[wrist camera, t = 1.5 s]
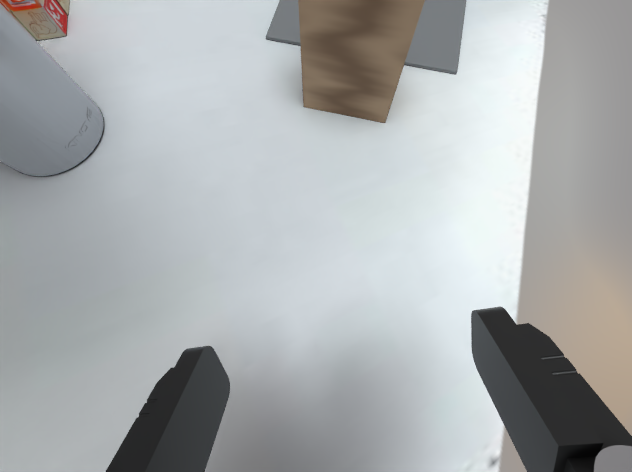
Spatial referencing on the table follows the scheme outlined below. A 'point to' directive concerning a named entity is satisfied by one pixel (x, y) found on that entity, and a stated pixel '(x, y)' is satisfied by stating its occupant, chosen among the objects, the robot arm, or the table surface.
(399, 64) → the walnut block
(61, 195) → the table surface
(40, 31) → the stack of blocks
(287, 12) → the mat
